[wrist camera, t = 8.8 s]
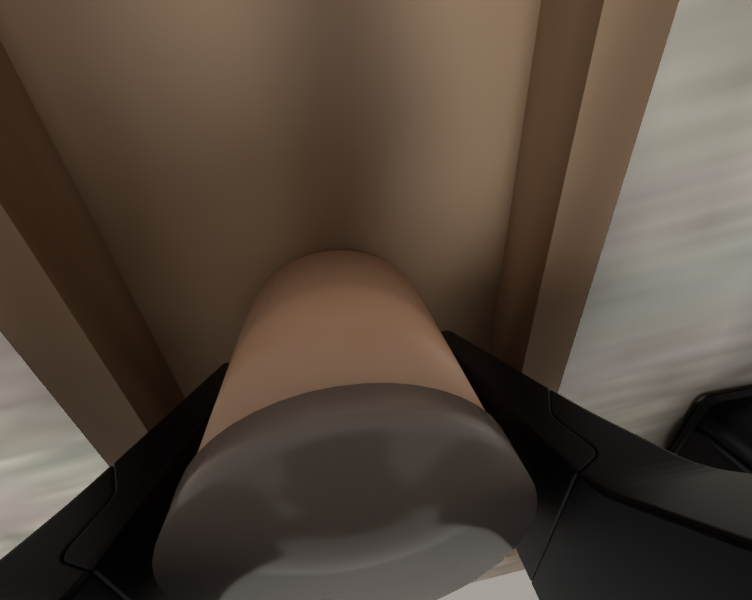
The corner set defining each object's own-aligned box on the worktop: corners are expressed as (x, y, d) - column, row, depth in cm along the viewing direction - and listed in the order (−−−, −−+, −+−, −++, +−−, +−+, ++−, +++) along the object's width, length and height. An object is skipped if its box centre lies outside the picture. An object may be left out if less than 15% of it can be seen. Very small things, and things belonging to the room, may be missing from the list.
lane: (594, -107, 7) (797, -273, 4) (484, 484, 19) (516, 554, 16) (-128, -105, 6) (-636, -359, 3) (237, 534, 17) (220, 622, 14)
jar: (430, 235, 9) (579, 396, 4) (426, 384, 12) (508, 588, 7) (216, 260, 8) (56, 488, 3) (268, 410, 11) (226, 654, 6)
